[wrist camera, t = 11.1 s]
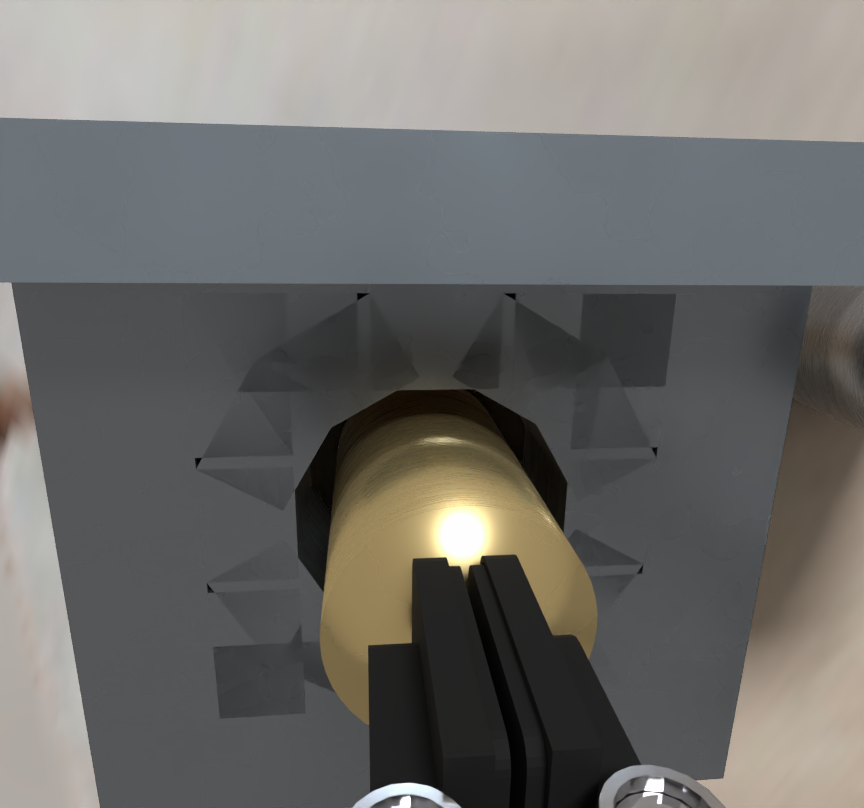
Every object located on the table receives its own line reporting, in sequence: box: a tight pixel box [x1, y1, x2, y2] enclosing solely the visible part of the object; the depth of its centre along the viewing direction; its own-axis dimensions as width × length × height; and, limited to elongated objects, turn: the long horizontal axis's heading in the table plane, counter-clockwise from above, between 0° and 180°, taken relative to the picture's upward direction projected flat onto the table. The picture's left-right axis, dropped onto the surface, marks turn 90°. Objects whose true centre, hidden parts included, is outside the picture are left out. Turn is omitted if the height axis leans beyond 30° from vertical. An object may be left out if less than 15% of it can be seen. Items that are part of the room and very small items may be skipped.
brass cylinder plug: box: [320, 389, 597, 725], centre depth 14 cm, size 5×5×8 cm
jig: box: [0, 118, 864, 808], centre depth 15 cm, size 16×16×6 cm
